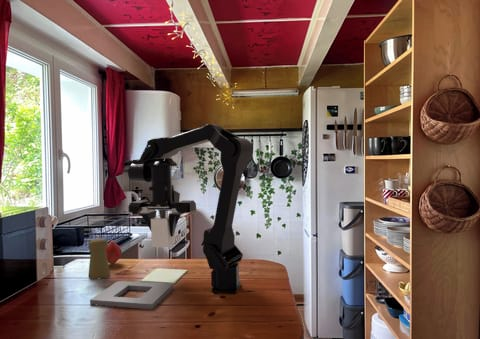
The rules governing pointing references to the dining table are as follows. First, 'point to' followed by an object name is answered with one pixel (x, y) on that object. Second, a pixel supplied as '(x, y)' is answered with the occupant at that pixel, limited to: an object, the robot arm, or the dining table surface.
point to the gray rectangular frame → (145, 302)
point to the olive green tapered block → (98, 259)
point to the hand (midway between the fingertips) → (163, 236)
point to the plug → (161, 231)
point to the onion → (113, 252)
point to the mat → (164, 276)
